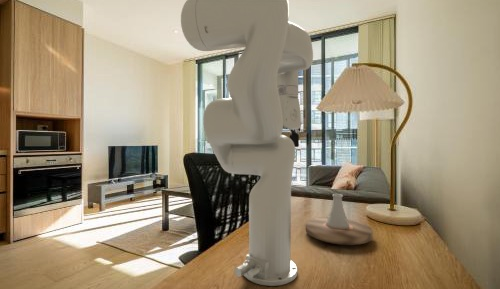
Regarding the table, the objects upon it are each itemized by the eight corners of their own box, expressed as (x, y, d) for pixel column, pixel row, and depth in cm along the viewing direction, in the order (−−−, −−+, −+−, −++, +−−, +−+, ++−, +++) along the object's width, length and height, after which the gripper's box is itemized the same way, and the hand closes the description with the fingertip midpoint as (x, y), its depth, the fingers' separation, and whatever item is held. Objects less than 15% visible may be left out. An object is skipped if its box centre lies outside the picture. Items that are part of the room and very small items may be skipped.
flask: (351, 231, 76) (351, 197, 76) (326, 229, 77) (326, 196, 77) (347, 223, 83) (347, 193, 83) (324, 222, 84) (324, 192, 84)
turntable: (359, 251, 66) (359, 243, 66) (293, 232, 79) (293, 226, 79) (380, 231, 81) (380, 225, 81) (321, 218, 94) (321, 213, 94)
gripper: (280, 87, 72) (280, 147, 72) (309, 96, 85) (309, 147, 85) (260, 90, 77) (260, 147, 77) (290, 98, 90) (290, 146, 90)
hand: (286, 147), depth 81 cm, fingers open, 9 cm apart
